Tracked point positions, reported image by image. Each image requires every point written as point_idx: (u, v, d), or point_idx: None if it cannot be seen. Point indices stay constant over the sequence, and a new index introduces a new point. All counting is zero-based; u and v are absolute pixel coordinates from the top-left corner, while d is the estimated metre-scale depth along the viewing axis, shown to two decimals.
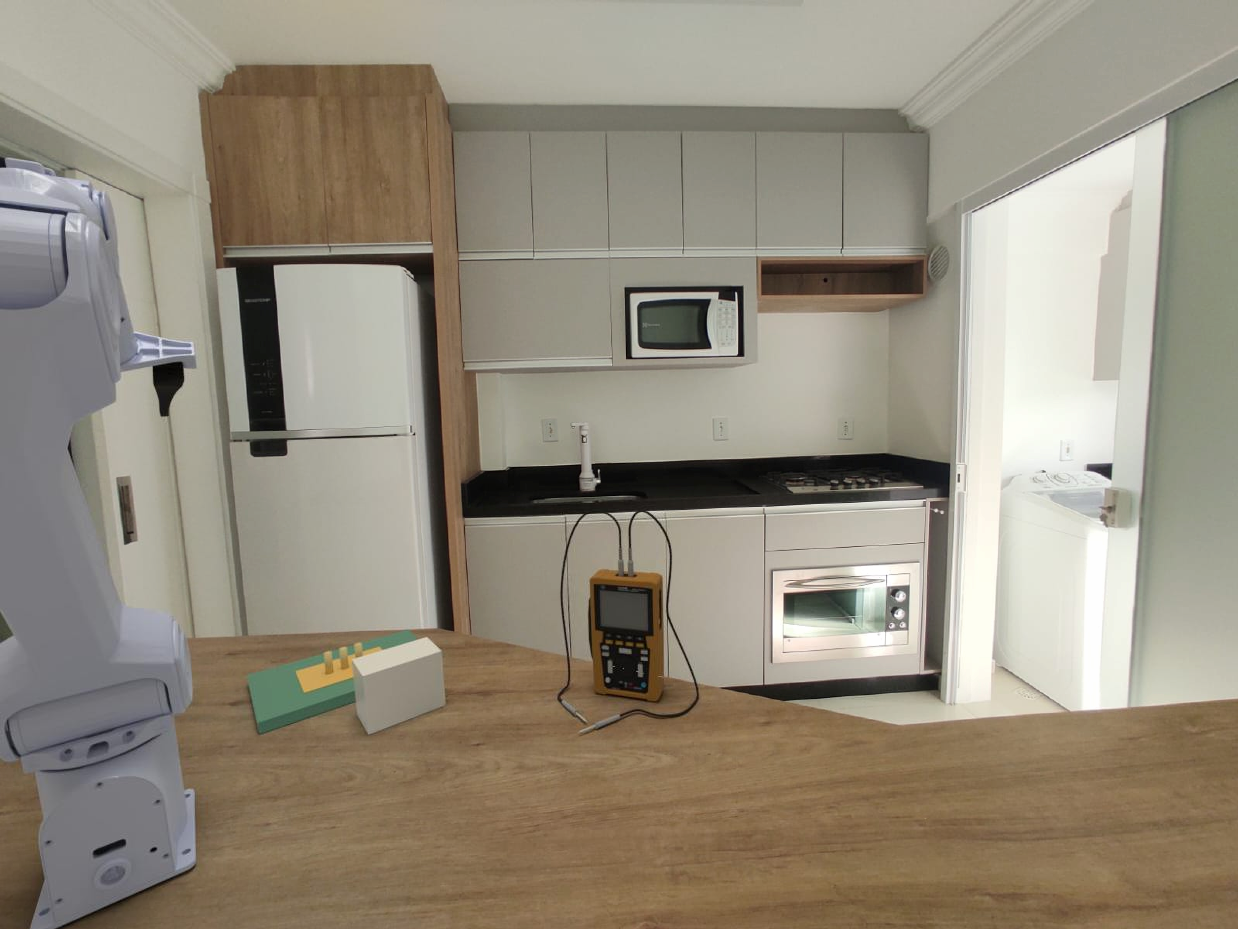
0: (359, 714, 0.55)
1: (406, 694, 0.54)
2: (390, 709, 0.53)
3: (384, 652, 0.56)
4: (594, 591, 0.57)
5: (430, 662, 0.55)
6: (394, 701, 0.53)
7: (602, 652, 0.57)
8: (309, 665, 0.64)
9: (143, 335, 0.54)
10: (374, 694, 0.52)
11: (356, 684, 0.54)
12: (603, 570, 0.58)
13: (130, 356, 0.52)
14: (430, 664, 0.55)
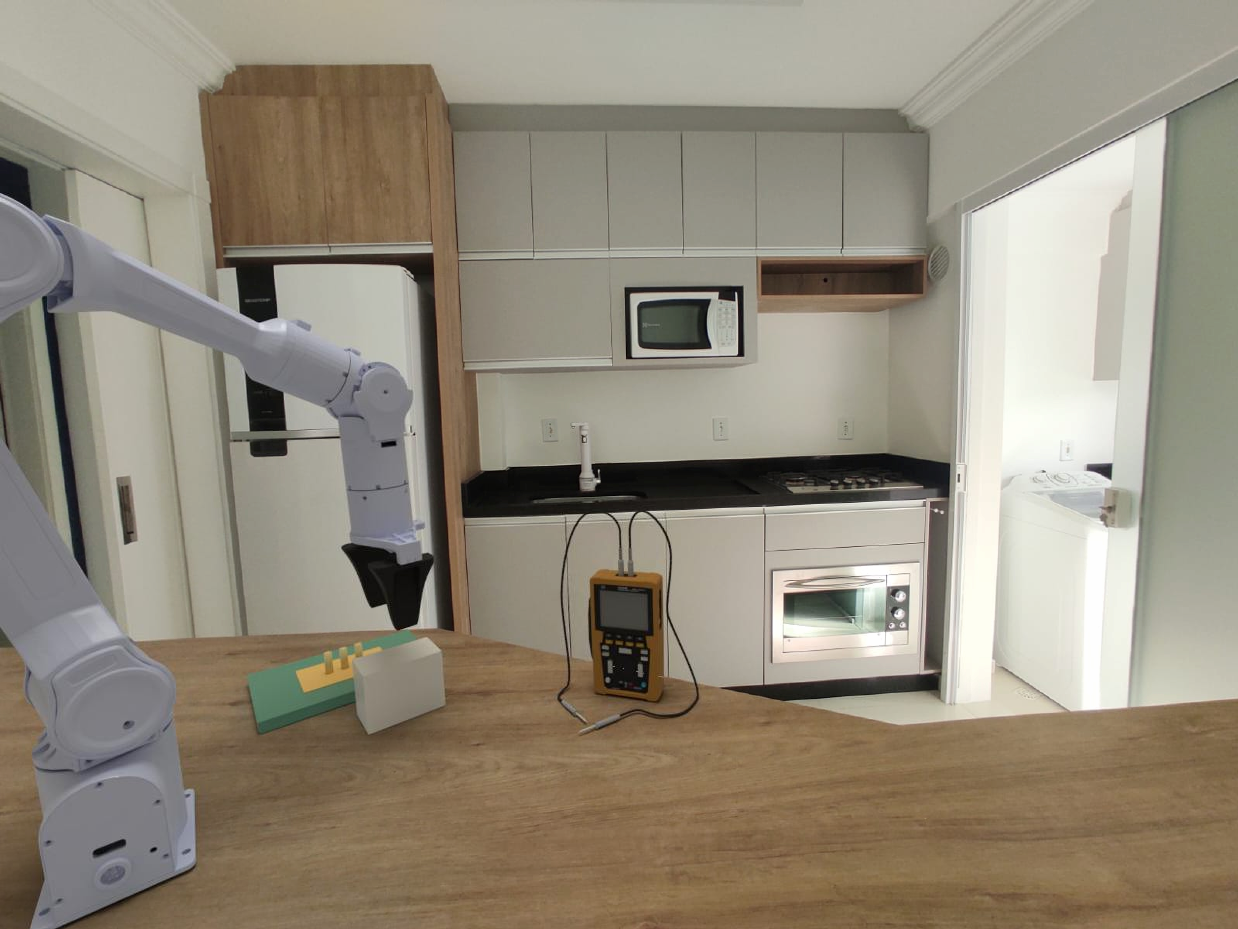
0: (359, 714, 0.55)
1: (406, 694, 0.54)
2: (390, 709, 0.53)
3: (384, 652, 0.56)
4: (594, 591, 0.57)
5: (430, 662, 0.55)
6: (394, 701, 0.53)
7: (602, 652, 0.57)
8: (309, 665, 0.64)
9: (413, 531, 0.53)
10: (374, 694, 0.52)
11: (356, 684, 0.54)
12: (603, 570, 0.58)
13: (373, 533, 0.52)
14: (430, 664, 0.55)
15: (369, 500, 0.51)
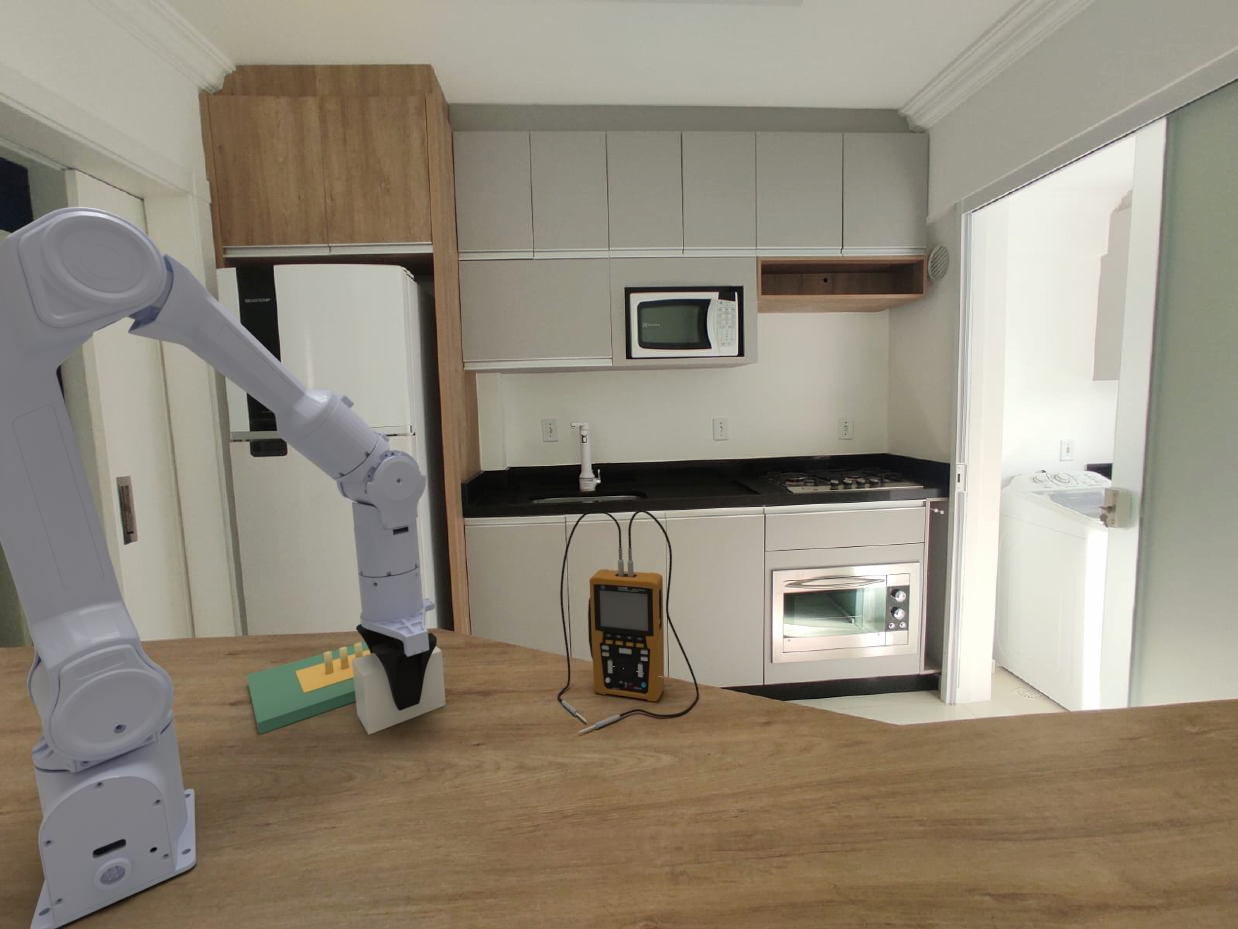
0: (359, 714, 0.55)
1: None
2: (390, 709, 0.53)
3: None
4: (594, 591, 0.57)
5: (430, 662, 0.55)
6: None
7: (602, 652, 0.57)
8: (309, 665, 0.64)
9: (422, 616, 0.53)
10: (374, 694, 0.52)
11: (356, 684, 0.54)
12: (603, 570, 0.58)
13: (383, 619, 0.52)
14: (430, 664, 0.55)
15: (379, 586, 0.52)
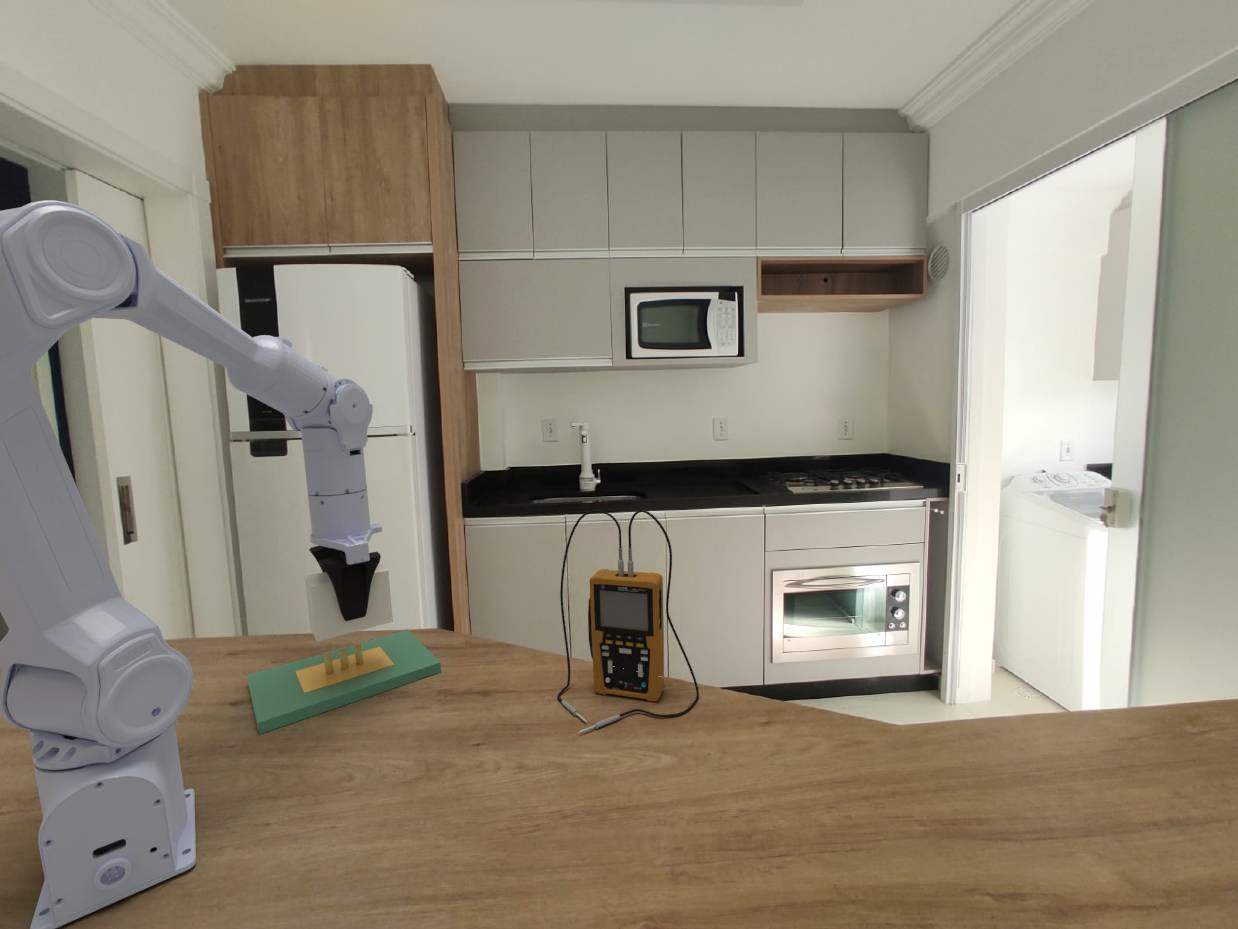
0: (311, 626, 0.59)
1: None
2: (338, 620, 0.58)
3: None
4: (594, 591, 0.57)
5: (377, 580, 0.60)
6: None
7: (602, 652, 0.57)
8: (309, 665, 0.64)
9: (367, 534, 0.58)
10: (322, 604, 0.57)
11: (308, 598, 0.59)
12: (603, 570, 0.58)
13: (329, 535, 0.56)
14: (377, 581, 0.60)
15: (326, 504, 0.56)
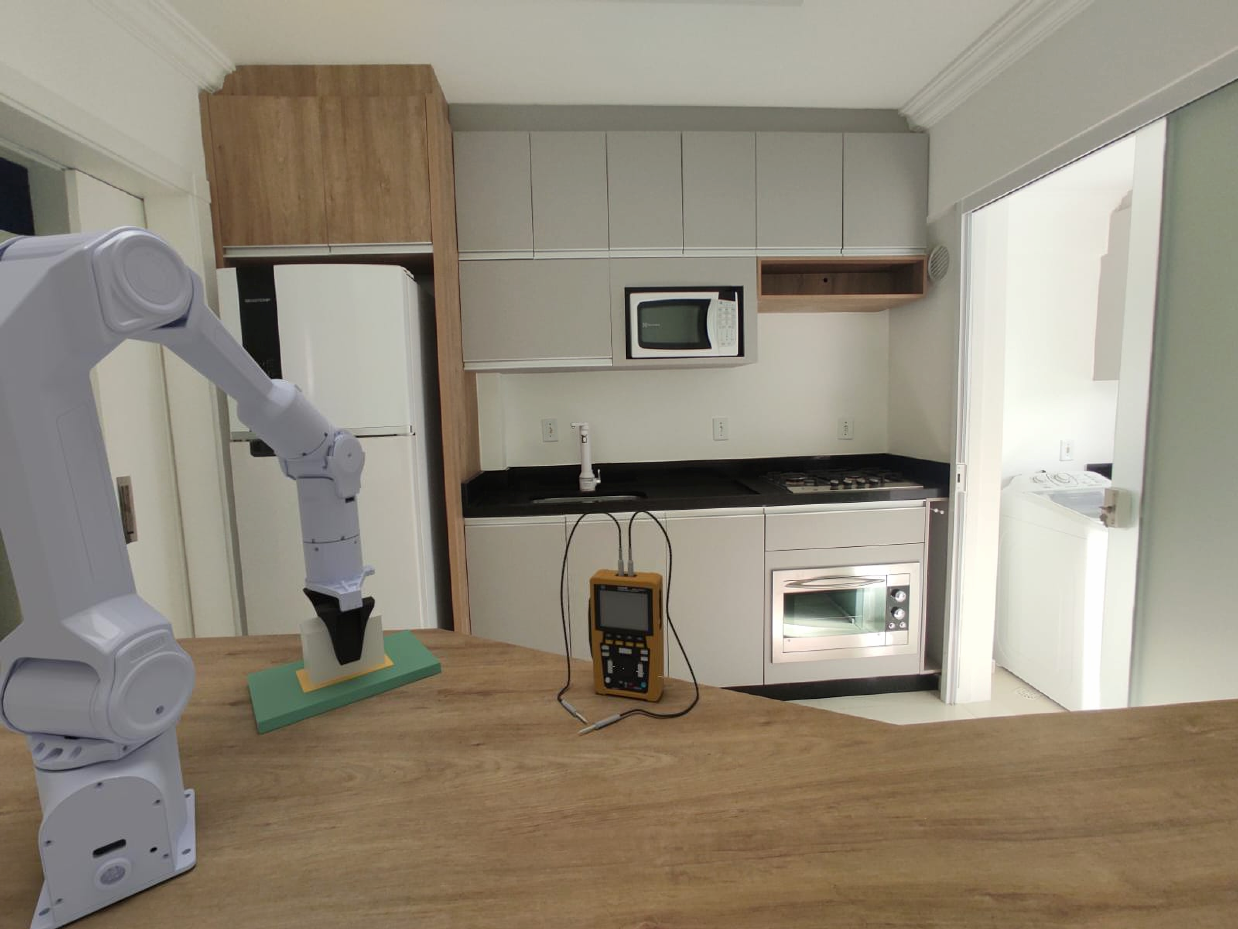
0: (306, 670, 0.61)
1: None
2: (332, 665, 0.60)
3: None
4: (594, 591, 0.57)
5: (370, 624, 0.62)
6: (336, 658, 0.60)
7: (602, 652, 0.57)
8: None
9: (360, 578, 0.60)
10: (317, 651, 0.59)
11: (303, 643, 0.61)
12: (603, 570, 0.58)
13: (323, 580, 0.58)
14: (370, 626, 0.62)
15: (320, 551, 0.58)
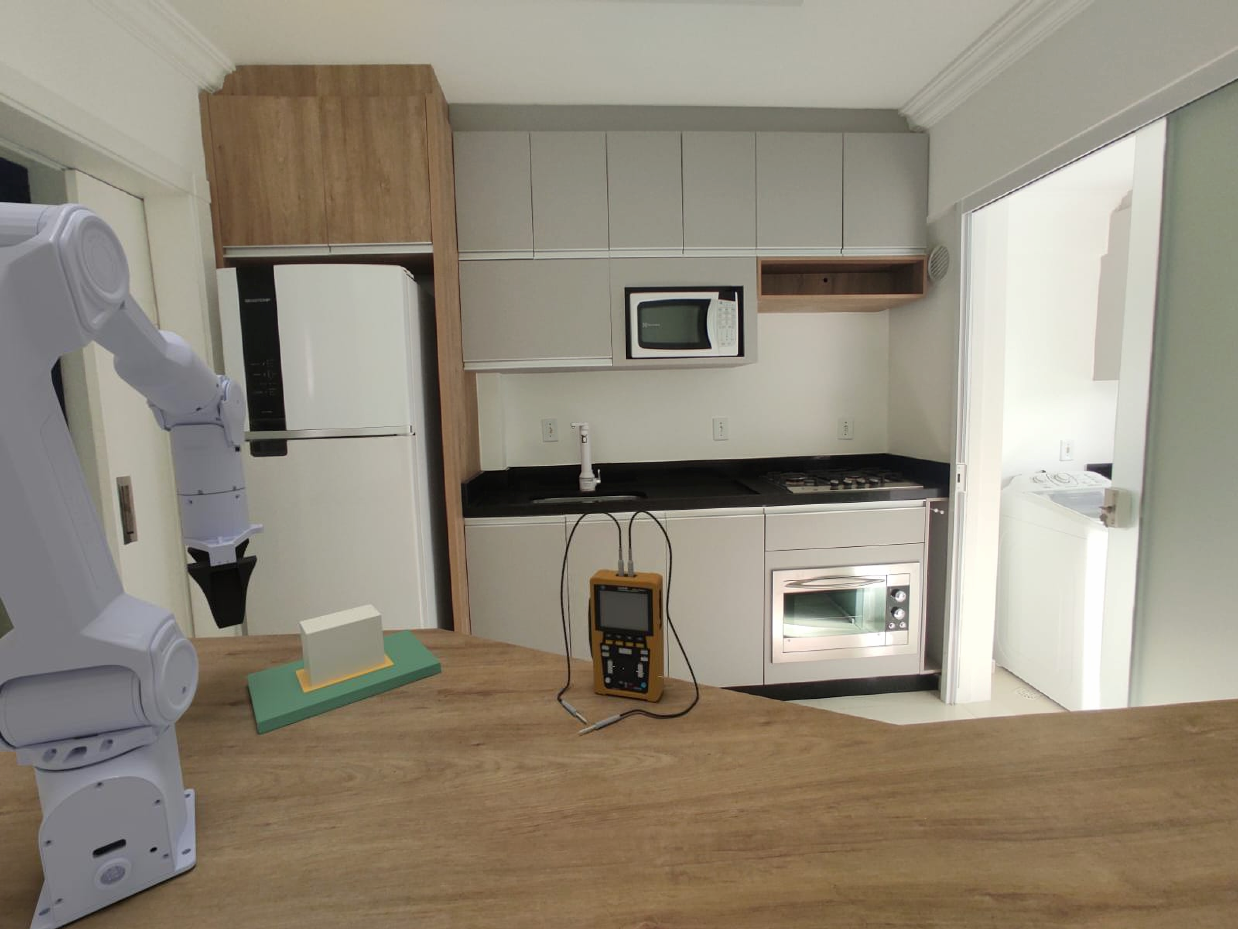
0: (306, 670, 0.61)
1: (347, 652, 0.61)
2: (332, 665, 0.60)
3: (329, 616, 0.63)
4: (594, 591, 0.57)
5: (370, 624, 0.62)
6: (336, 658, 0.60)
7: (602, 652, 0.57)
8: None
9: (241, 535, 0.56)
10: (317, 651, 0.59)
11: (303, 643, 0.61)
12: (603, 570, 0.58)
13: (199, 535, 0.55)
14: (370, 626, 0.62)
15: (194, 504, 0.54)
